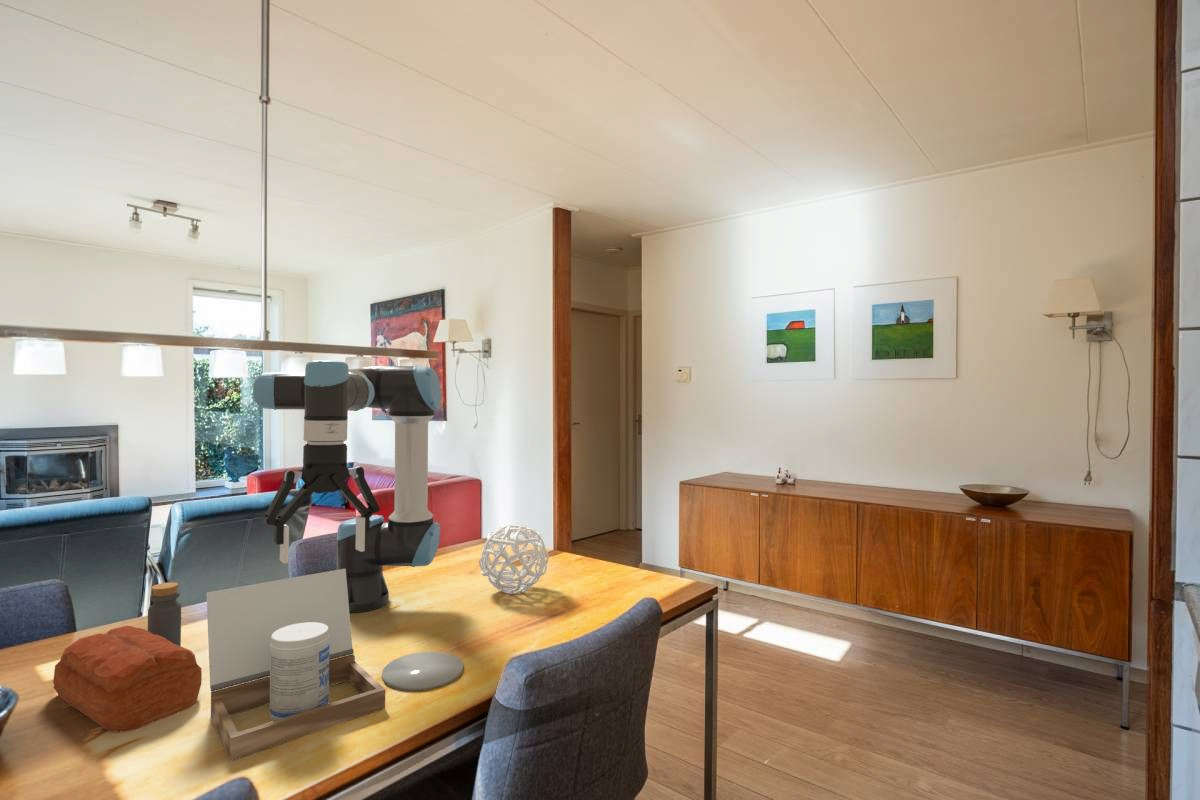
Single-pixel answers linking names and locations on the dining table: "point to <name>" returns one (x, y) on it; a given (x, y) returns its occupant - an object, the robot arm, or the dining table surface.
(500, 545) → the decorative ball
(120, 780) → the dining table surface
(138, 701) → the bread
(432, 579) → the dining table surface
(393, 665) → the saucer
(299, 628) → the supplement tub
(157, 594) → the bottle
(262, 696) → the tray
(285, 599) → the lid
